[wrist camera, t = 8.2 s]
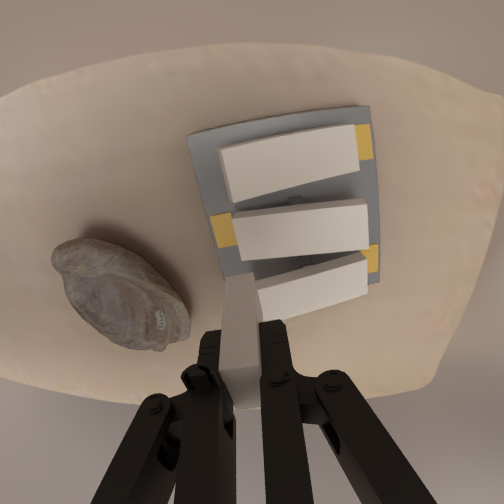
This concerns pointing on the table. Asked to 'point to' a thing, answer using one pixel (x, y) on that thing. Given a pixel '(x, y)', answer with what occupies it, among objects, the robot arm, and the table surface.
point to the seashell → (121, 294)
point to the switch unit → (314, 192)
